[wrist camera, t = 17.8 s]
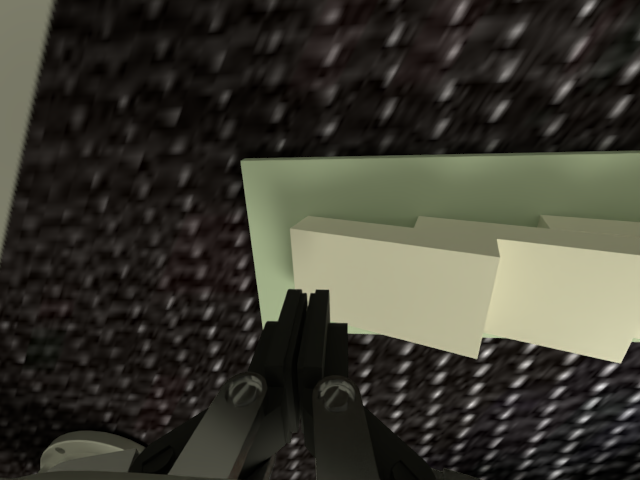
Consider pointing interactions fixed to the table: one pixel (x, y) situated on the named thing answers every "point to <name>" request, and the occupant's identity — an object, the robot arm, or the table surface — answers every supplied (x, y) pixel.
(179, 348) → the table surface
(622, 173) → the board
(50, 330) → the table surface
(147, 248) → the table surface
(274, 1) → the table surface
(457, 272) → the domino
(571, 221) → the domino
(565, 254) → the domino
